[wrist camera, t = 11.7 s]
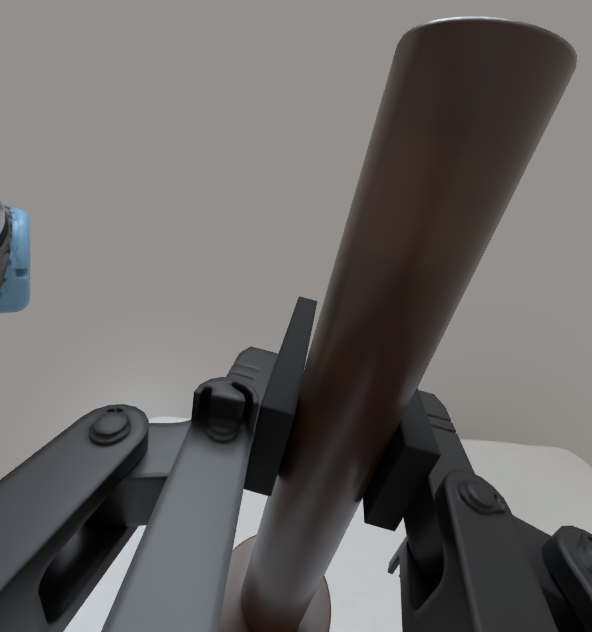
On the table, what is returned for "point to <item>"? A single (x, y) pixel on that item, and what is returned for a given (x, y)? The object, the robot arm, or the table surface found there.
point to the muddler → (395, 289)
